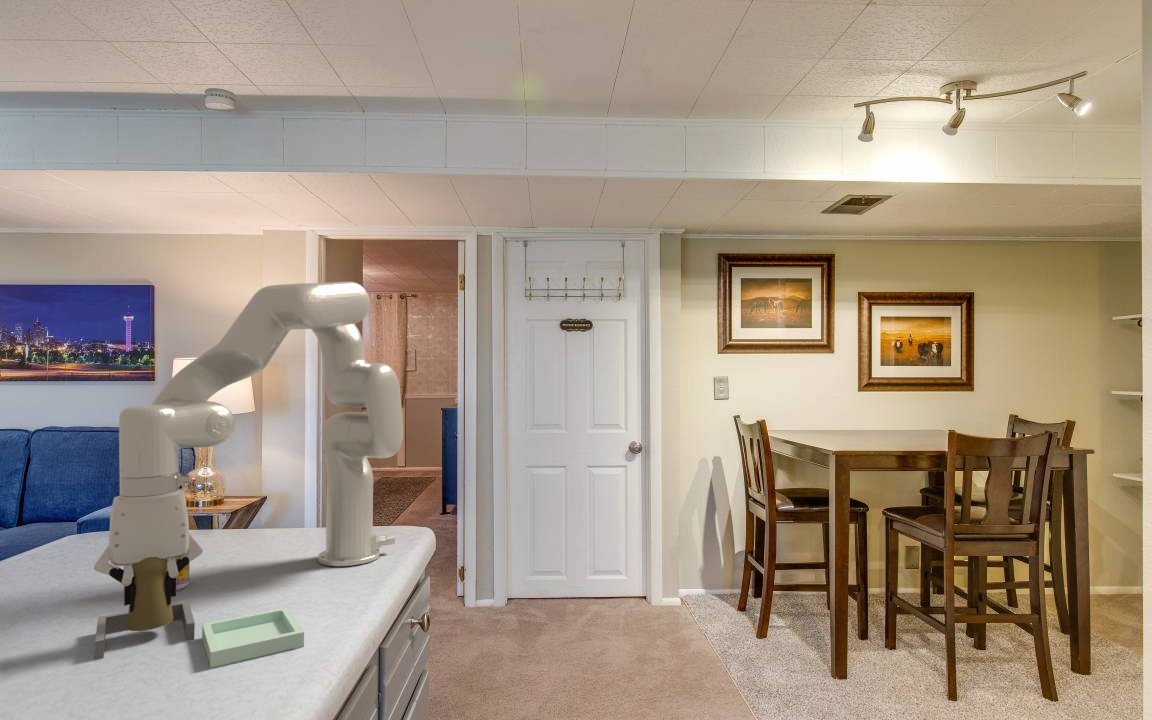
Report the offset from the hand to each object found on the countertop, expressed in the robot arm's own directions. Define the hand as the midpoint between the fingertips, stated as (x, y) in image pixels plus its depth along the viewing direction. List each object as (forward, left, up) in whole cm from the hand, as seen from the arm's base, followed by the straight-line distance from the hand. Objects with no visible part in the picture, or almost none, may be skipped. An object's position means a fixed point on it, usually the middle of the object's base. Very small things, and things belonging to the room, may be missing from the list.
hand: (150, 604), depth 97 cm
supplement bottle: (-3, -24, -5) cm, 24 cm away
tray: (-12, +11, -5) cm, 17 cm away
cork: (0, 0, -3) cm, 3 cm away
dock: (+1, 0, -5) cm, 5 cm away
